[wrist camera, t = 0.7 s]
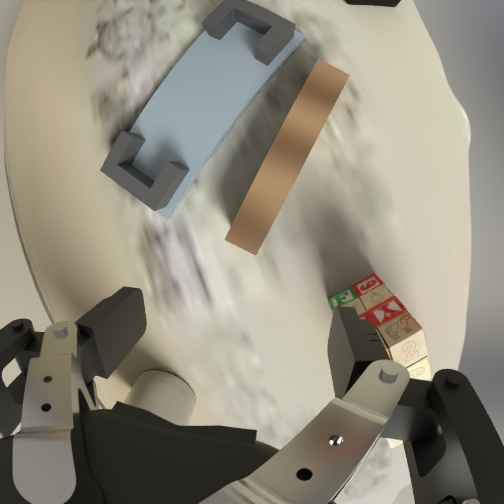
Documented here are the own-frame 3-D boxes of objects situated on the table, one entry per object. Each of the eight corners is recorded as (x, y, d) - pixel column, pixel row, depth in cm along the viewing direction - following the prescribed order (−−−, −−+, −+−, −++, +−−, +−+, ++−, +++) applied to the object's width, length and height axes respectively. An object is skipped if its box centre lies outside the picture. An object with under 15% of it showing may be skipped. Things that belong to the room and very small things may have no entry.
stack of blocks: (410, 386, 33) (439, 444, 22) (373, 404, 35) (394, 466, 23) (374, 271, 29) (424, 328, 17) (325, 297, 30) (351, 367, 18)
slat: (258, 241, 29) (255, 255, 24) (232, 228, 29) (224, 239, 24) (337, 90, 24) (349, 75, 19) (310, 76, 24) (318, 58, 19)
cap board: (170, 217, 29) (156, 224, 25) (110, 173, 28) (90, 175, 24) (304, 39, 22) (308, 22, 18) (235, 4, 21) (230, -14, 17)
